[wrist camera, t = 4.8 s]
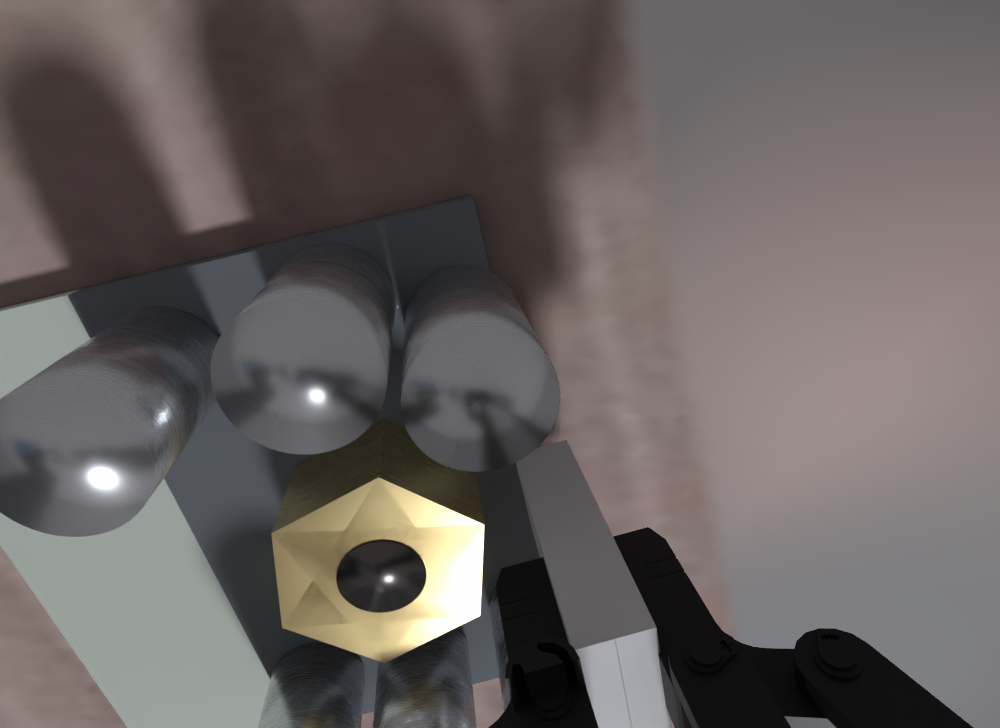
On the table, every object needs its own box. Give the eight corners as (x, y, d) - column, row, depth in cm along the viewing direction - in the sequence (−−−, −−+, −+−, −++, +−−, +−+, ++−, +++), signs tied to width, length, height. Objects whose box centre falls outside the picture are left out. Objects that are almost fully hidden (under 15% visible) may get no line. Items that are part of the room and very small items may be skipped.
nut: (349, 603, 19) (337, 688, 16) (251, 489, 17) (218, 562, 14) (511, 520, 18) (529, 592, 16) (430, 393, 16) (433, 449, 14)
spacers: (292, 722, 20) (256, 897, 16) (71, 303, 14) (-91, 389, 10) (589, 642, 21) (638, 790, 16) (495, 201, 15) (530, 237, 10)
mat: (161, 753, 21) (154, 770, 20) (-123, 337, 15) (-143, 346, 14) (573, 642, 21) (577, 655, 21) (471, 194, 15) (473, 197, 15)
